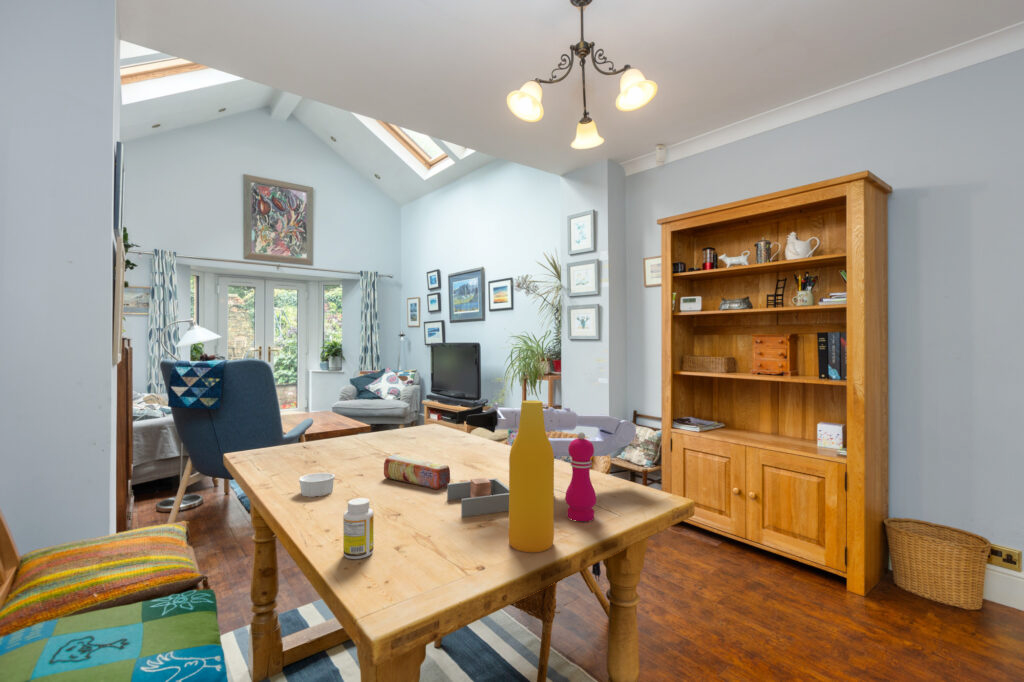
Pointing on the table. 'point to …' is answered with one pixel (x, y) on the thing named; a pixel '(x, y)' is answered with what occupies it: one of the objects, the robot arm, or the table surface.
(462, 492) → the open side box
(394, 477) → the snack package
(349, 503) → the supplement bottle
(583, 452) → the pepper mill
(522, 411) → the beer bottle
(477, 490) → the block
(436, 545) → the table surface
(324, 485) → the ramekin
